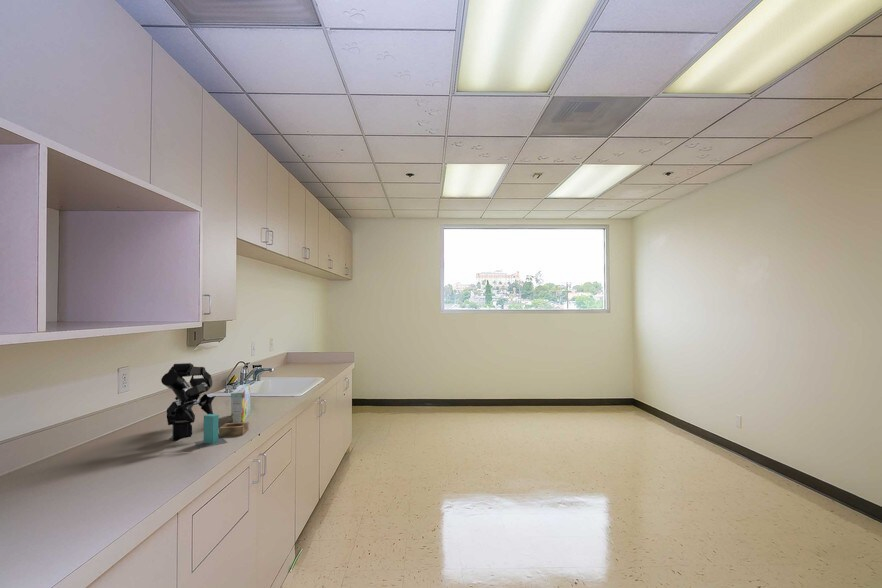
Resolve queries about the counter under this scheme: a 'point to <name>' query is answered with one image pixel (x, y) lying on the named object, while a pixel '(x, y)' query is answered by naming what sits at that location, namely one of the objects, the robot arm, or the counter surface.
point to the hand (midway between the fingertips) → (202, 418)
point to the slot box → (233, 429)
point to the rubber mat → (202, 445)
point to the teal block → (211, 428)
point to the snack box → (240, 403)
